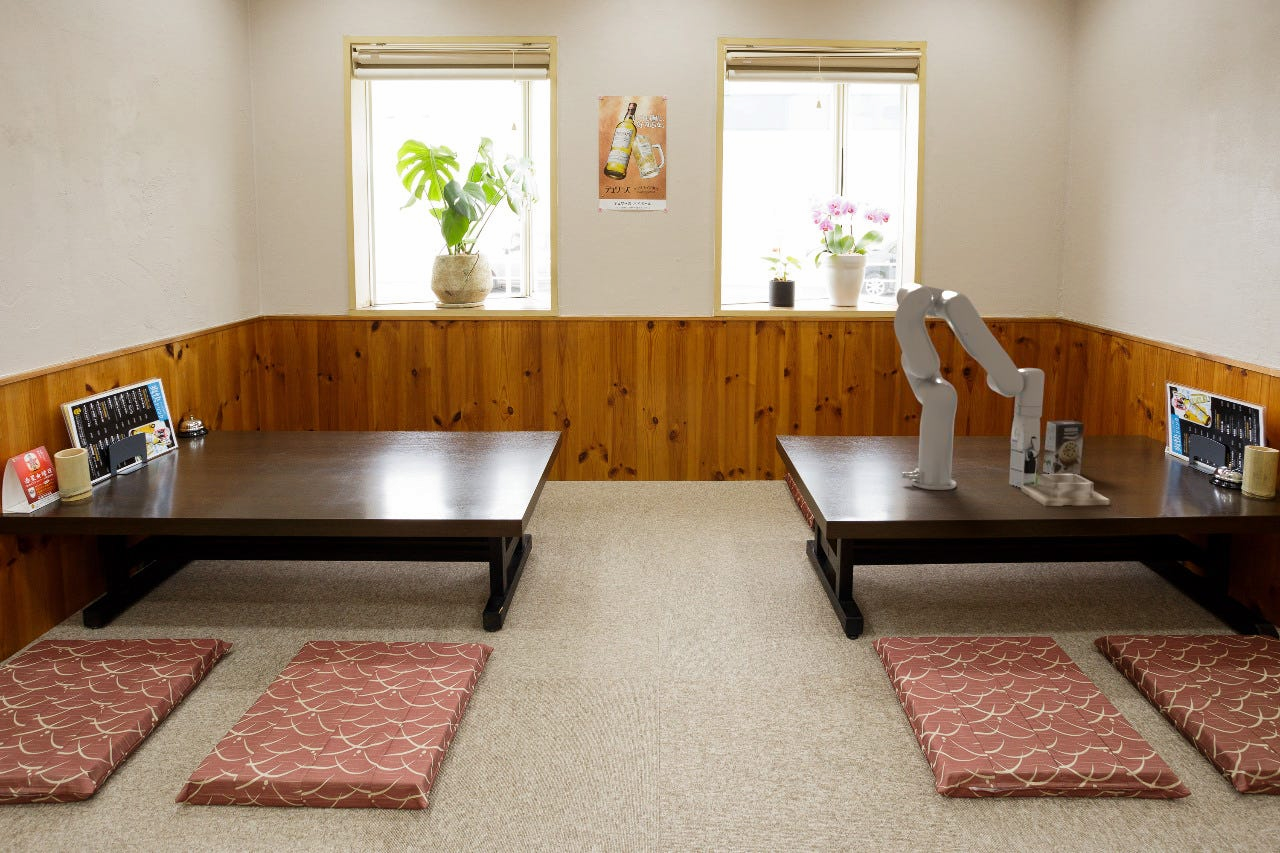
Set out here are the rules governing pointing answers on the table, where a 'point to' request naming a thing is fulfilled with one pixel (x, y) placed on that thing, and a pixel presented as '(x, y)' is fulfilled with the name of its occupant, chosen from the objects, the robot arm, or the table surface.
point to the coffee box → (1063, 447)
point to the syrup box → (1021, 467)
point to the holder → (1064, 491)
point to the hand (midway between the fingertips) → (1024, 469)
